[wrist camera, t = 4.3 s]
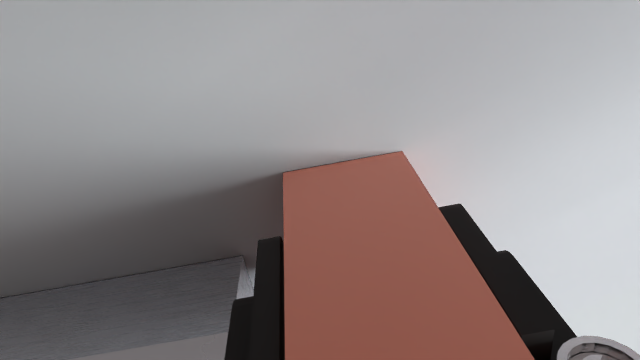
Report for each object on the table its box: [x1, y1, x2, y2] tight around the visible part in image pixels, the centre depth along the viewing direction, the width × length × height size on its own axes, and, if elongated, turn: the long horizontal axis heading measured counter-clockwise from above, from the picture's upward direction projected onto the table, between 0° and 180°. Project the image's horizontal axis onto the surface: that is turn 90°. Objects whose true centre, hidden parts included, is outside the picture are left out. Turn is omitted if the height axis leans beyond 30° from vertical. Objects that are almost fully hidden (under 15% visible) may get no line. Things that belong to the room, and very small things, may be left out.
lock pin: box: [283, 151, 535, 360], centre depth 8 cm, size 3×3×10 cm
